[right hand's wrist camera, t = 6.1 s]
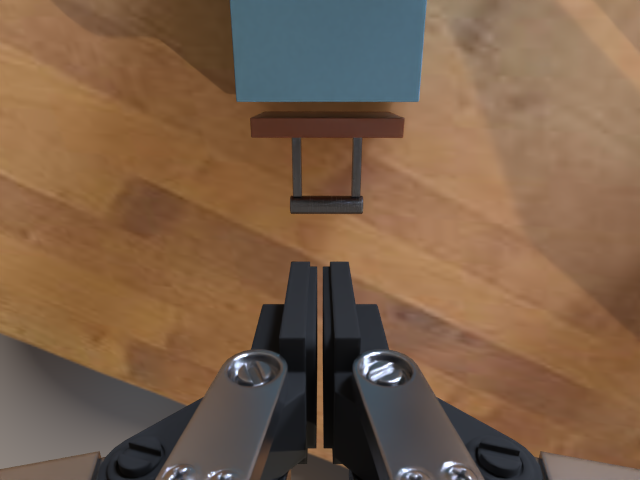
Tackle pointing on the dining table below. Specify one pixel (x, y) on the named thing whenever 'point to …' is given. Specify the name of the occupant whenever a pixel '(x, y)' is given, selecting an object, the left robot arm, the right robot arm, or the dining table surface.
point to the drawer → (327, 127)
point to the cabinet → (327, 50)
